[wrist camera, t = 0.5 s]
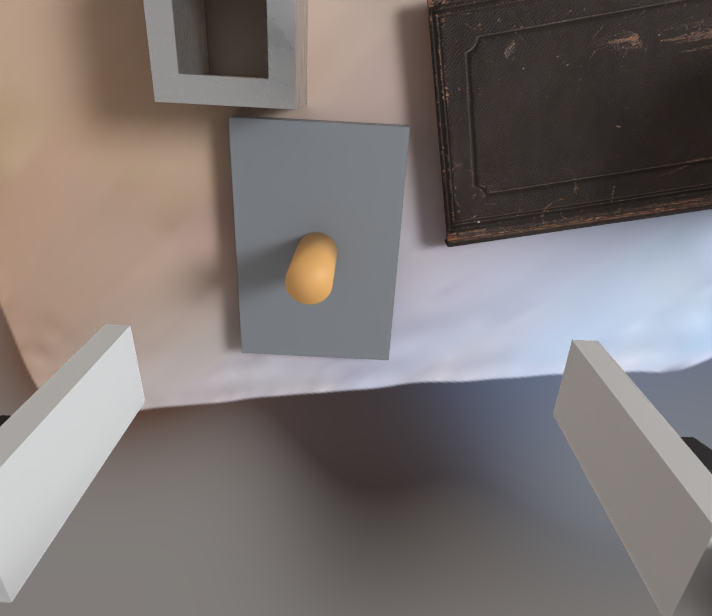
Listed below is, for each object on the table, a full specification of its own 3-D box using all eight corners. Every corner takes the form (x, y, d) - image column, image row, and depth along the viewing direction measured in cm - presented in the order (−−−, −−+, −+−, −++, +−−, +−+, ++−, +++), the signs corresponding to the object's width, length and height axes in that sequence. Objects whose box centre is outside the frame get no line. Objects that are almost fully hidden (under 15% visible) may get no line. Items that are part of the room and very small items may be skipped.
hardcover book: (423, 1, 31) (427, -4, 29) (807, -70, 29) (841, -81, 27) (443, 240, 38) (448, 250, 36) (757, 194, 36) (781, 202, 34)
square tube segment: (176, -46, 30) (134, -73, 24) (307, -38, 30) (295, -63, 25) (188, 97, 33) (154, 101, 28) (306, 104, 33) (295, 109, 28)
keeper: (234, 115, 34) (201, 125, 27) (408, 125, 34) (418, 137, 27) (245, 343, 42) (222, 395, 35) (387, 350, 42) (392, 404, 35)
